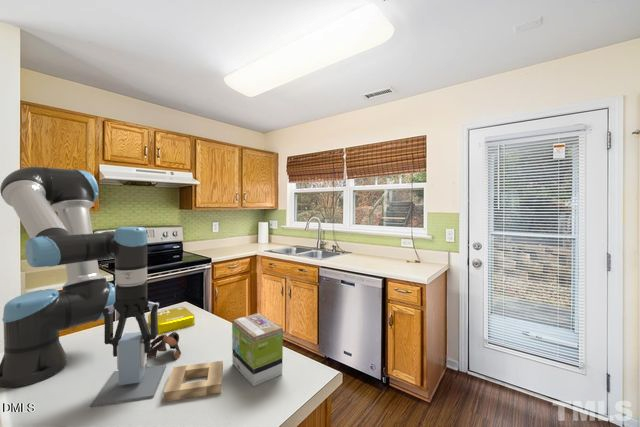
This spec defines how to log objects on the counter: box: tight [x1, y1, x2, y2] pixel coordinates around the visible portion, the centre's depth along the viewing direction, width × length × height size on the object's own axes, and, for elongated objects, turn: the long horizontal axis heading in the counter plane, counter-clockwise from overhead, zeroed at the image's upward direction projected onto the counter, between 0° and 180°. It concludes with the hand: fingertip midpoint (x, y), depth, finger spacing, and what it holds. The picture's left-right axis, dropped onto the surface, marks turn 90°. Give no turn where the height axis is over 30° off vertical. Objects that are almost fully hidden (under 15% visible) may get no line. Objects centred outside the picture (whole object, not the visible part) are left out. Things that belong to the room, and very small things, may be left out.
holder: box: [163, 360, 224, 402], centre depth 83 cm, size 14×12×2 cm
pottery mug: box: [147, 331, 182, 361], centre depth 98 cm, size 12×10×8 cm
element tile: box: [147, 306, 195, 335], centre depth 123 cm, size 15×15×5 cm
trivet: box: [89, 364, 167, 408], centre depth 83 cm, size 14×15×1 cm
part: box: [118, 331, 146, 385], centre depth 82 cm, size 5×5×12 cm
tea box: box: [231, 312, 284, 387], centre depth 91 cm, size 15×10×15 cm, turn 40°
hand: (132, 365), depth 82 cm, fingers closed on part, 5 cm apart
